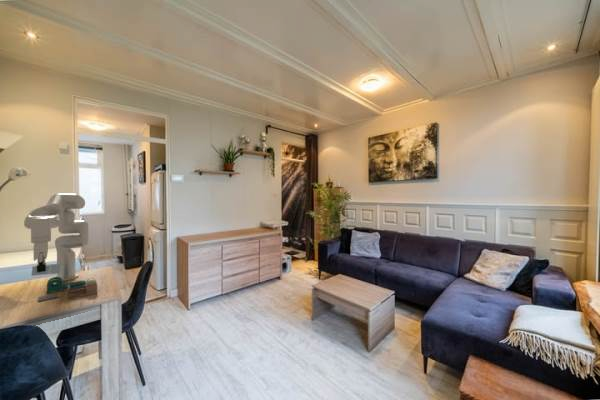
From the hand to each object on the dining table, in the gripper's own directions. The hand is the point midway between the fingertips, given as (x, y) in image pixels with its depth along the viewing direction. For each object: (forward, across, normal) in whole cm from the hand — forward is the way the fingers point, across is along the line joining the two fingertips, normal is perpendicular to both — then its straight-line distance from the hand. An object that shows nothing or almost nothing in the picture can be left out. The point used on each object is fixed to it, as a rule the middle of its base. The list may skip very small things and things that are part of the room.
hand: (41, 270), depth 130 cm
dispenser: (+19, 0, +17) cm, 25 cm away
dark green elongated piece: (+19, -20, +10) cm, 30 cm away
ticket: (+2, 0, +2) cm, 3 cm away
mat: (+19, -7, +2) cm, 20 cm away
